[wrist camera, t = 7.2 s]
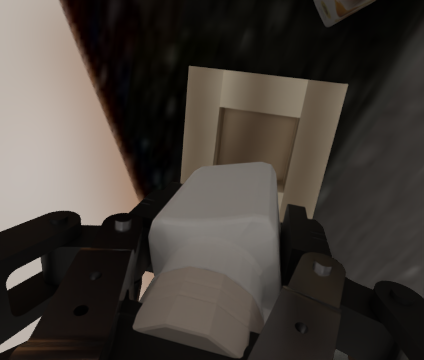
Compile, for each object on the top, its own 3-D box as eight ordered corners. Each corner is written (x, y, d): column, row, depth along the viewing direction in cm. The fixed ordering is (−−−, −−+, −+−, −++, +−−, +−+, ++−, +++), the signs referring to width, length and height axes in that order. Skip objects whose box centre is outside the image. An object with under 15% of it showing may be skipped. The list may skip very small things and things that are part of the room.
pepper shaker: (205, 233, 16) (117, 436, 7) (193, 163, 14) (66, 302, 6) (280, 231, 15) (288, 464, 6) (275, 156, 13) (274, 311, 5)
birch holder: (337, 83, 24) (348, 84, 21) (305, 208, 29) (309, 227, 25) (201, 67, 26) (189, 65, 22) (190, 186, 31) (179, 202, 27)
